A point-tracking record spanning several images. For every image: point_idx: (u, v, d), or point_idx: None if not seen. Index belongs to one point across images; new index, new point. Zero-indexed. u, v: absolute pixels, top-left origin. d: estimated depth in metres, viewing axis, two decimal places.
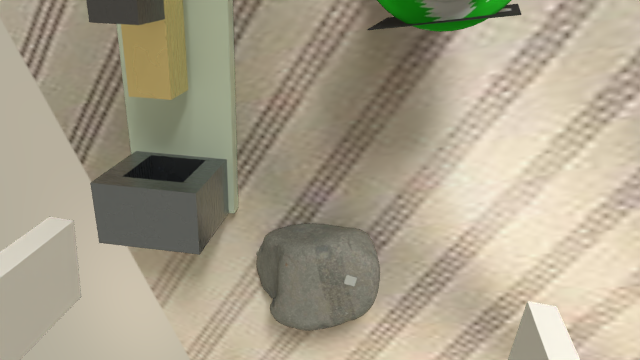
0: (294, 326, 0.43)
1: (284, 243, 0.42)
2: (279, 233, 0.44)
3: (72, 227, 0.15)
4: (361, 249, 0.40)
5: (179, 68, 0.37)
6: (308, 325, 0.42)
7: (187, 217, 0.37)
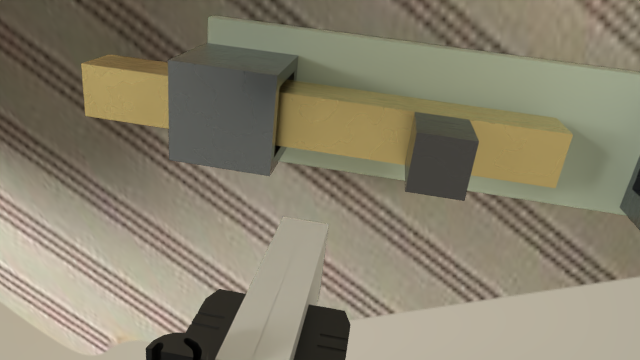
0: None
1: None
2: None
3: None
4: None
5: (529, 119, 0.29)
6: None
7: None
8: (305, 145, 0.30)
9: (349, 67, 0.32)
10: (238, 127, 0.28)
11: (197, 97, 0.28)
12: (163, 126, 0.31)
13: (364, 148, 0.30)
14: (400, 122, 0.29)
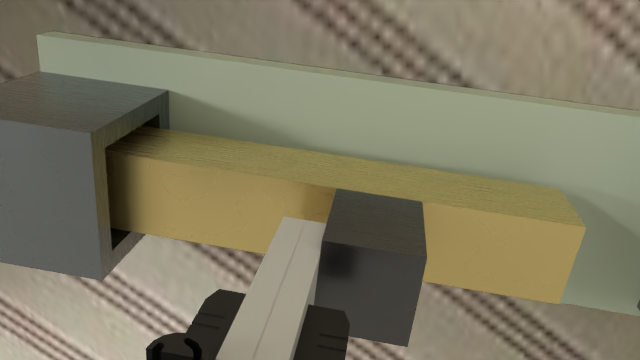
0: None
1: None
2: None
3: None
4: None
5: (518, 195, 0.19)
6: None
7: None
8: (177, 233, 0.20)
9: (241, 106, 0.22)
10: (45, 209, 0.18)
11: None
12: None
13: (265, 239, 0.19)
14: (316, 203, 0.18)
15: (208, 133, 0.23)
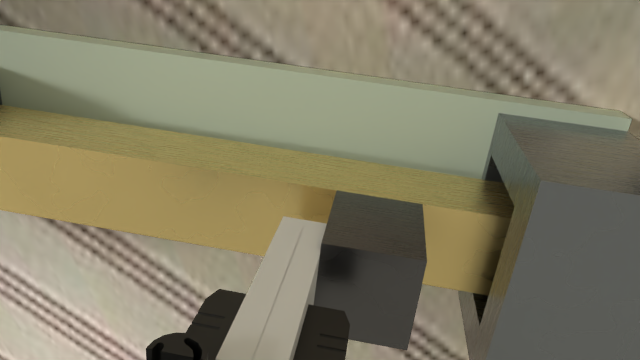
0: None
1: None
2: None
3: None
4: None
5: None
6: None
7: (606, 215, 0.14)
8: (177, 234, 0.20)
9: (65, 81, 0.23)
10: None
11: None
12: None
13: (264, 241, 0.19)
14: (316, 205, 0.18)
15: (38, 108, 0.24)
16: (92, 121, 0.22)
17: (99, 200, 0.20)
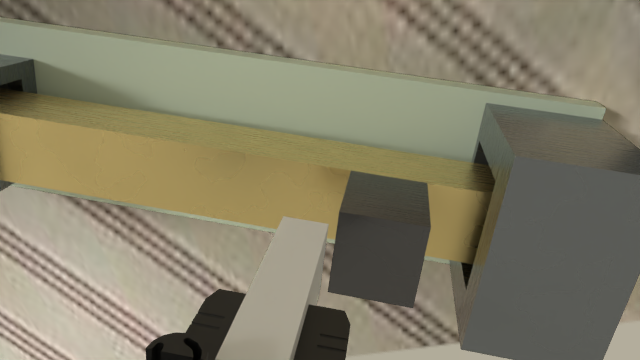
0: None
1: None
2: None
3: None
4: None
5: None
6: None
7: (572, 186, 0.17)
8: (207, 211, 0.22)
9: (95, 74, 0.25)
10: None
11: None
12: (21, 181, 0.23)
13: None
14: (332, 184, 0.21)
15: (70, 97, 0.26)
16: (129, 109, 0.24)
17: (138, 180, 0.22)
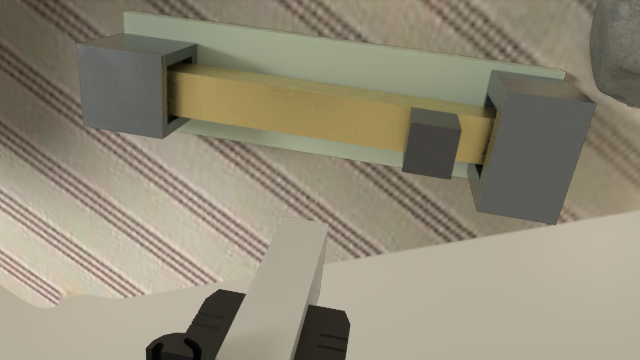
0: None
1: (606, 64, 0.33)
2: (596, 72, 0.35)
3: None
4: None
5: None
6: None
7: (539, 108, 0.30)
8: (319, 135, 0.36)
9: (238, 52, 0.39)
10: (135, 98, 0.35)
11: (101, 74, 0.35)
12: (201, 118, 0.37)
13: (369, 137, 0.35)
14: (399, 115, 0.34)
15: None
16: (264, 75, 0.38)
17: (278, 115, 0.36)
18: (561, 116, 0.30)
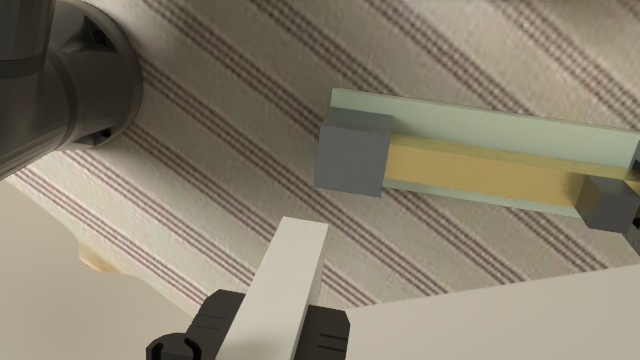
0: None
1: None
2: None
3: None
4: None
5: None
6: None
7: None
8: (506, 194, 0.45)
9: (427, 123, 0.48)
10: (362, 166, 0.44)
11: (337, 148, 0.44)
12: (407, 180, 0.46)
13: (548, 196, 0.45)
14: (575, 180, 0.44)
15: (408, 135, 0.49)
16: (453, 143, 0.47)
17: (474, 179, 0.45)
18: None
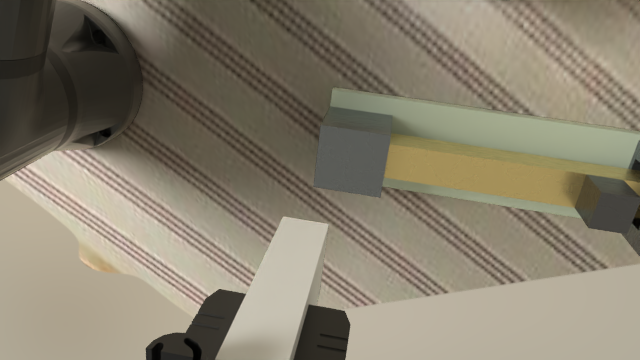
0: None
1: None
2: None
3: None
4: None
5: None
6: None
7: None
8: (506, 194, 0.45)
9: (427, 123, 0.48)
10: (362, 166, 0.44)
11: (337, 147, 0.44)
12: (407, 180, 0.46)
13: (548, 196, 0.45)
14: (575, 180, 0.44)
15: (408, 135, 0.49)
16: (453, 143, 0.47)
17: (474, 179, 0.45)
18: None
